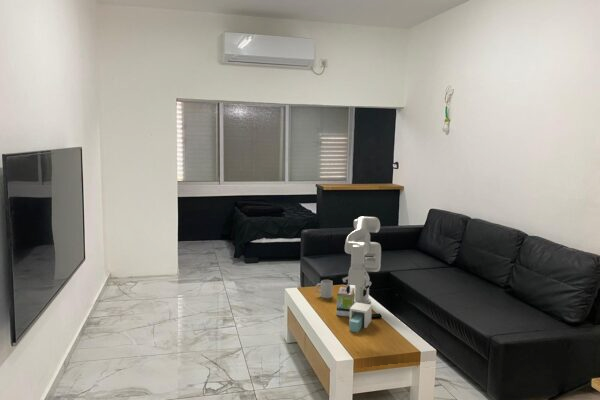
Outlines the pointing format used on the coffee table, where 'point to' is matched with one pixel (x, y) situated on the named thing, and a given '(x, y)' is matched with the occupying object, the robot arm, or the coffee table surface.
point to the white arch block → (361, 312)
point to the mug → (325, 288)
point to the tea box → (344, 301)
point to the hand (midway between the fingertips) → (356, 294)
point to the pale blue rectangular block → (356, 323)
